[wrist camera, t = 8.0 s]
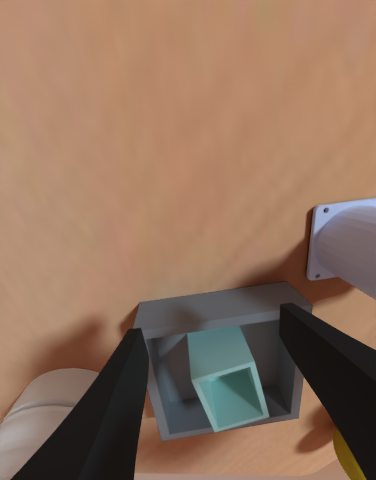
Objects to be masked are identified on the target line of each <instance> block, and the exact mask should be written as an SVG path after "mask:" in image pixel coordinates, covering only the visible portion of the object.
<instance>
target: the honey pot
mask: <svg viewBox="0 0 376 480" xmlns="http://www.w3.org/2000/svg"><path fill="white" fill-rule="evenodd" d="M98 375H99V373H98V372H95V371H92V370H87V369H79V368H66V369H57V370H53V371H50V372H46V373H44V374H42V375H40V376H38V377H36V378H35V379H34V380H33V381H32V382H31V383H29V384H28V385H27V387H26V388H25V389H24V391H23V392H22V394H21V395H20V397H19V398H18V399H17V401H16V402H15V404H14V405H13V406H12V408H11V409H10V411H9V412H8V414H7V415H6V416H5V418H4V420H3V422H2V423H1V424H0V480H10V479H11V478H12V477H13V476H14V475H15V474H16V473H17V472H18V471H19V470H20V469H21V468H22V467H23V465H24V464H25V463H26V462H27V461H28V460H29V459H30V458H31V457H32V456H33V454H34V453H35V452H36V451H37V450H38V449H39V448H40V447H41V446H42V445H43V443H44V442H45V441H46V440H47V439H48V438H49V437H50V435H51V434H52V433H53V432H54V431H55V430H56V429H57V427H58V426H59V425H60V424H61V423H62V421H63V420H64V419H65V418H66V417H67V415H68V414H69V413H70V412H71V410H72V409H73V408H74V407H75V405H76V404H77V403H78V402H79V400H80V399H81V398H82V396H83V395H84V394H85V392H86V391H87V390H88V388H89V387H90V386H91V384H92V383H93V382H94V380H95V379H96V378H97V376H98Z"/></svg>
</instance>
